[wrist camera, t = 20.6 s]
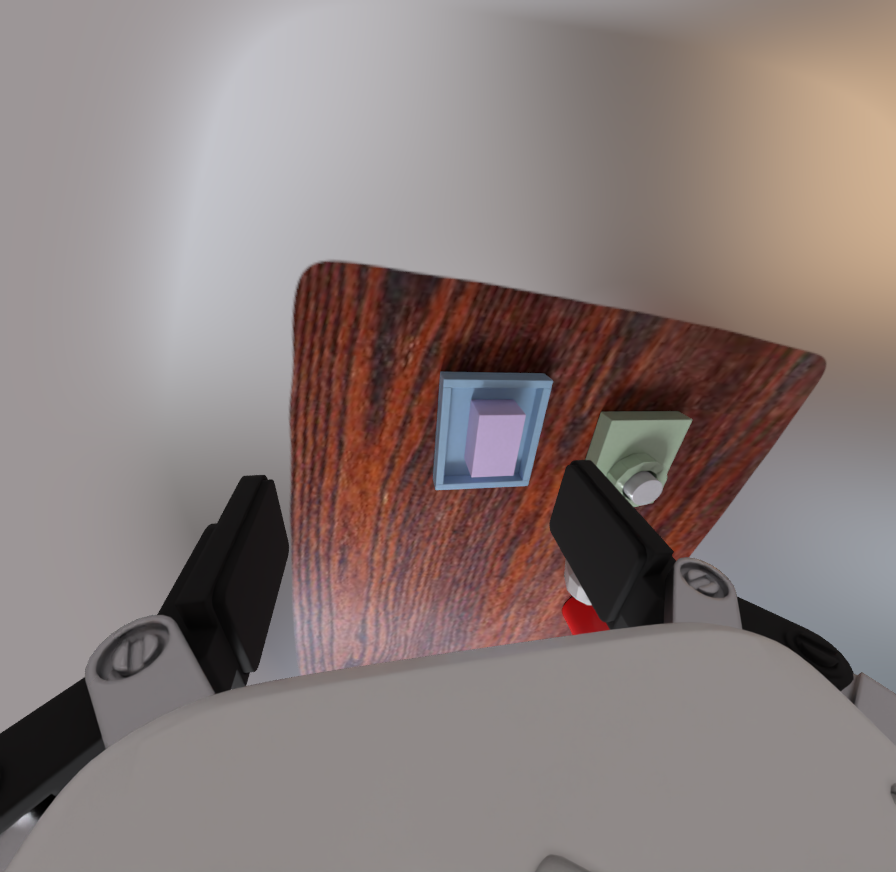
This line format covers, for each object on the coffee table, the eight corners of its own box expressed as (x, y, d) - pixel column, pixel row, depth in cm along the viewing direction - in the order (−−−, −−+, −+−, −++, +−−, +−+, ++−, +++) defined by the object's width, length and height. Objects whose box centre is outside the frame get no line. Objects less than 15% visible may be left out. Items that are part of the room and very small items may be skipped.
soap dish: (440, 371, 33) (443, 379, 31) (544, 373, 35) (553, 380, 33) (432, 478, 39) (435, 490, 37) (521, 475, 41) (528, 485, 39)
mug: (635, 587, 58) (669, 633, 51) (576, 625, 60) (601, 674, 54) (615, 568, 54) (648, 615, 47) (553, 609, 57) (576, 659, 50)
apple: (614, 537, 50) (644, 575, 44) (588, 574, 53) (613, 614, 48) (568, 531, 48) (593, 571, 42) (544, 570, 51) (564, 612, 46)
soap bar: (470, 399, 34) (479, 414, 31) (513, 399, 35) (526, 414, 32) (463, 458, 38) (471, 477, 35) (503, 457, 39) (513, 475, 36)
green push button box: (600, 411, 39) (622, 428, 35) (678, 410, 40) (705, 427, 37) (573, 496, 44) (589, 518, 41) (642, 492, 46) (663, 513, 43)
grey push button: (628, 471, 39) (638, 480, 37) (657, 469, 40) (668, 479, 38) (618, 496, 41) (627, 506, 39) (645, 494, 41) (655, 504, 40)
